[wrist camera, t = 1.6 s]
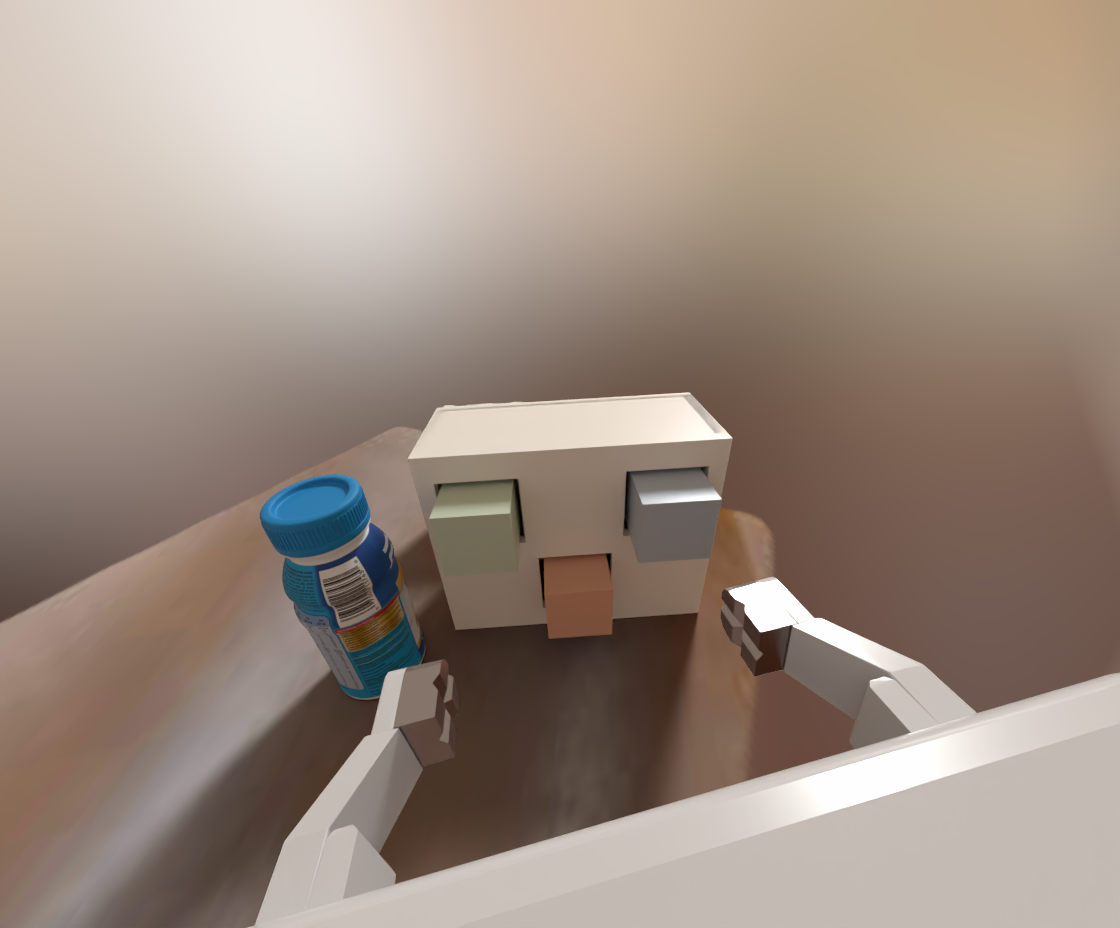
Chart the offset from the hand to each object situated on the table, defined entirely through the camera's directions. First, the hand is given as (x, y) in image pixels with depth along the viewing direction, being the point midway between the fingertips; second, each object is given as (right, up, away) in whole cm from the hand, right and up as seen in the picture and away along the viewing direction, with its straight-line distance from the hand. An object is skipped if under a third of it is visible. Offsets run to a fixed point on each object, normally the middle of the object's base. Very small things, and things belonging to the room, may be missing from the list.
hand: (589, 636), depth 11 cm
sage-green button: (-8, -3, +24) cm, 25 cm away
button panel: (+1, -9, +35) cm, 36 cm away
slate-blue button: (+9, -2, +24) cm, 25 cm away
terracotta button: (+1, -10, +28) cm, 30 cm away
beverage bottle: (-18, -15, +28) cm, 37 cm away
